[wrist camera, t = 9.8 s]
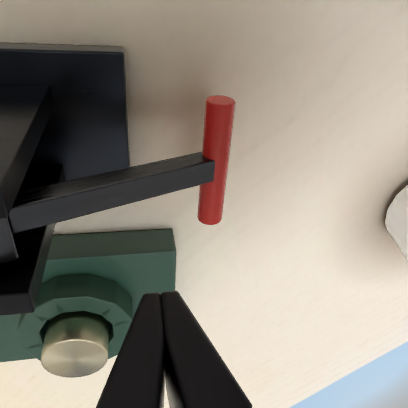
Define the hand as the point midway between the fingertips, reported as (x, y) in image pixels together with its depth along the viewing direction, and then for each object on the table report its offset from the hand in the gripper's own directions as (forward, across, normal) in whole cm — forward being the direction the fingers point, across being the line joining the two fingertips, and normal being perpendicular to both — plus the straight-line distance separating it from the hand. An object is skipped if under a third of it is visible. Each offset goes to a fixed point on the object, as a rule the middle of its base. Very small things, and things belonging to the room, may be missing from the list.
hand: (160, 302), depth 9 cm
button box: (+12, +4, +12) cm, 18 cm away
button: (+9, +4, +12) cm, 16 cm away
